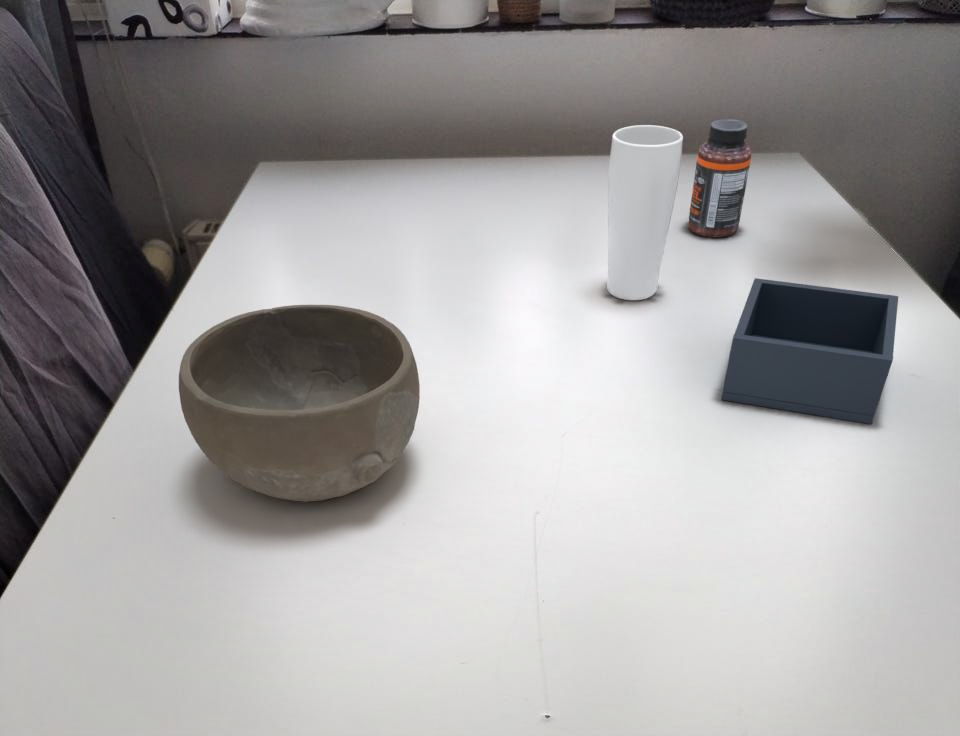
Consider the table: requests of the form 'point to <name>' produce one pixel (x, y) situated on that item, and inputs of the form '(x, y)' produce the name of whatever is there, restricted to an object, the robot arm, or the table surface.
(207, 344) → the bowl
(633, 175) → the drinking glass
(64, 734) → the table surface
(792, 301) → the bin
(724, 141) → the supplement bottle
